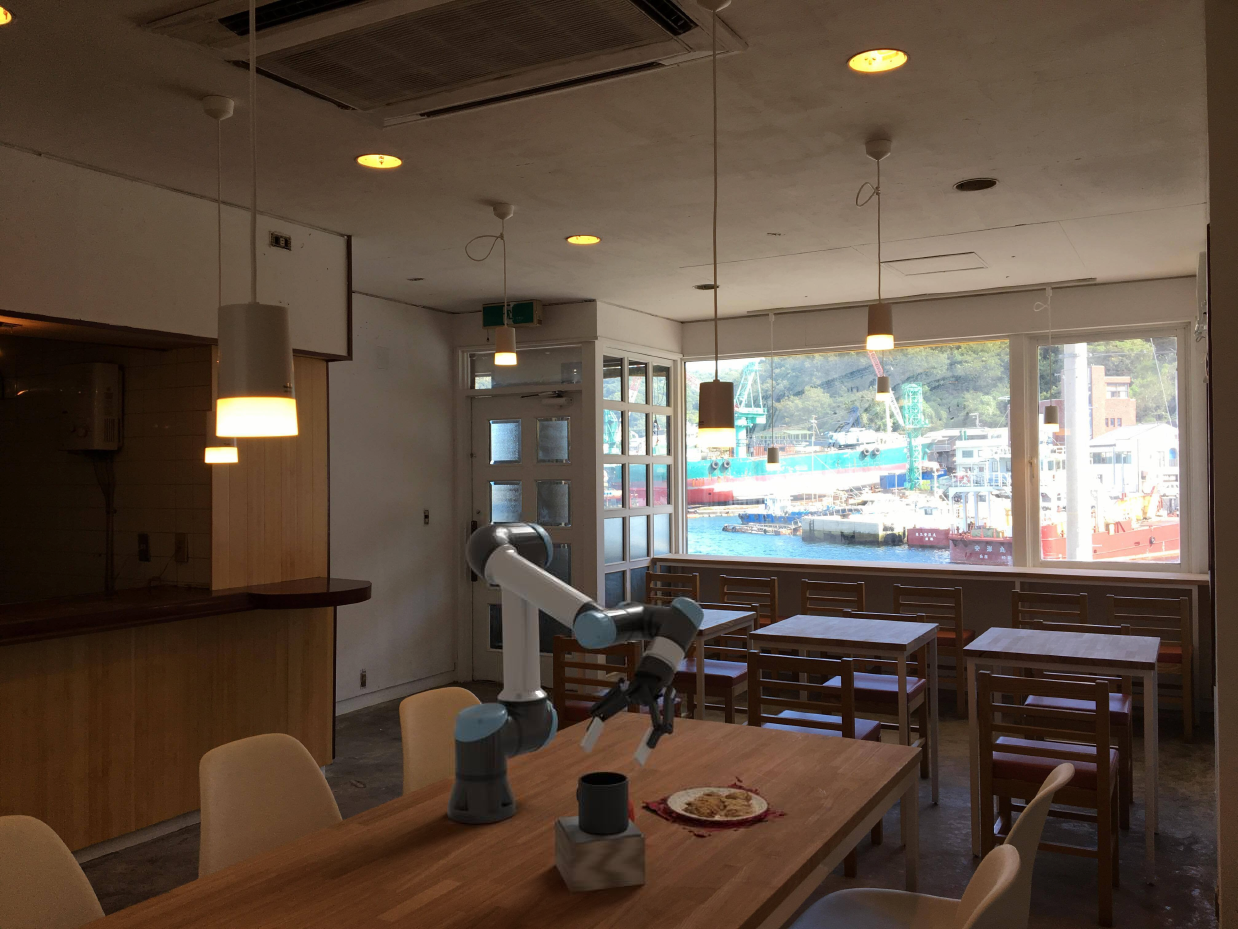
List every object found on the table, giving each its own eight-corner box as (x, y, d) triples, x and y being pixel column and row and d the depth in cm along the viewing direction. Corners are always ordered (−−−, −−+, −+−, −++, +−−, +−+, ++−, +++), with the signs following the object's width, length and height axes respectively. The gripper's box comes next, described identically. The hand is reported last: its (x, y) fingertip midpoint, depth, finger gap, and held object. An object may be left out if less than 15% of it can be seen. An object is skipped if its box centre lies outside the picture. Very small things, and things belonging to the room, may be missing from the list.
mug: (594, 812, 194) (594, 766, 194) (639, 826, 185) (638, 778, 186) (558, 824, 187) (558, 776, 187) (603, 839, 179) (603, 789, 179)
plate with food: (641, 809, 226) (640, 794, 226) (736, 788, 239) (735, 773, 239) (700, 843, 205) (699, 826, 205) (801, 818, 217) (800, 802, 217)
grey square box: (570, 892, 177) (570, 842, 178) (555, 864, 191) (554, 817, 191) (645, 883, 181) (644, 834, 181) (625, 857, 195) (624, 810, 195)
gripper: (717, 683, 195) (671, 778, 183) (621, 669, 211) (573, 755, 199) (700, 660, 191) (652, 755, 179) (604, 647, 207) (554, 733, 195)
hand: (610, 755), depth 189 cm, fingers open, 13 cm apart
